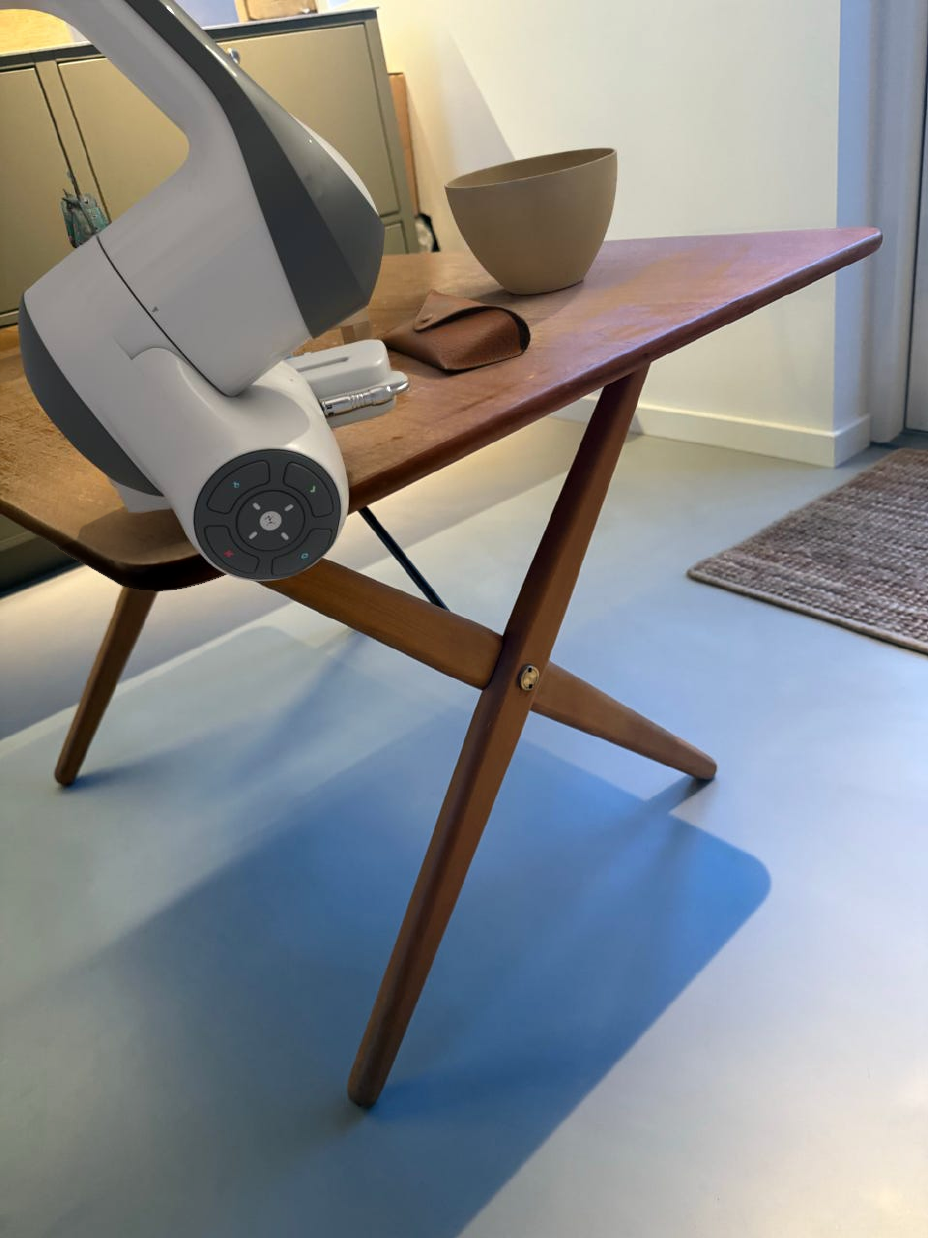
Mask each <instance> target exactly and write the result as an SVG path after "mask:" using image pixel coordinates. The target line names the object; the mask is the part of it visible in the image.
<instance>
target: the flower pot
mask: <svg viewBox="0 0 928 1238" xmlns="http://www.w3.org/2000/svg"><path fill="white" fill-rule="evenodd" d="M617 184H618V150H617V149H616V148H615V147H614V148H613V147H590V148H579V149H571V150H566V151H559V152H553V153H548V154H541V155H535V156H531V157H526V158H520V159H516V160H512V161H507V162H504V163H503V162H502V163H499V164H495V165H490V166H488V167H483V168H480V169H477V170H473V171H471V172H467V173H464V174H461V175H459V176H456V177H453V178H451V179H449V180H447V181H446V182H445V183H444V185H443V187H444V190H445V195H446V199H447V202H448V205H449V208H450V211H451V214H452V216H453V219H454V222H455V225H456V226H457V228H458V231H459V232H460V235H461V237H462V238H463V240H464V242H465V243H466V246H467V247H468V249H469V250H470V252H471V253H472V255H473V256H474V257H475V259H476V260H477V262H479V264H480V265H481V267H482V268H483V269H484V270H485V271H486V272H487V273H488V275H490V276H491V277H492V278H493V280H495V281H496V282H497V284H499V285H500V286H501V287H502V288H503V289H505V290H506V291H507V292H509V293H511V294H514V295H520V296H521V295H522V296H523V295H524V296H525V295H528V296H529V295H538V294H546V293H550V292H554V291H558V290H559V291H560V290H563V289H567V288H569V287H571V286H574V285H577V284H578V283H580V282H581V281H582V280H583V279H585V277H586V275H587V274H588V272H589V270H590V269H591V267H592V265H593V263H594V262H595V260H596V258H597V255H598V253H599V252H600V250H601V247H602V246H603V243H604V240H605V238H606V235H607V233H608V230H609V227H610V223H611V219H612V215H613V210H614V206H615V200H616V193H617Z"/></svg>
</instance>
